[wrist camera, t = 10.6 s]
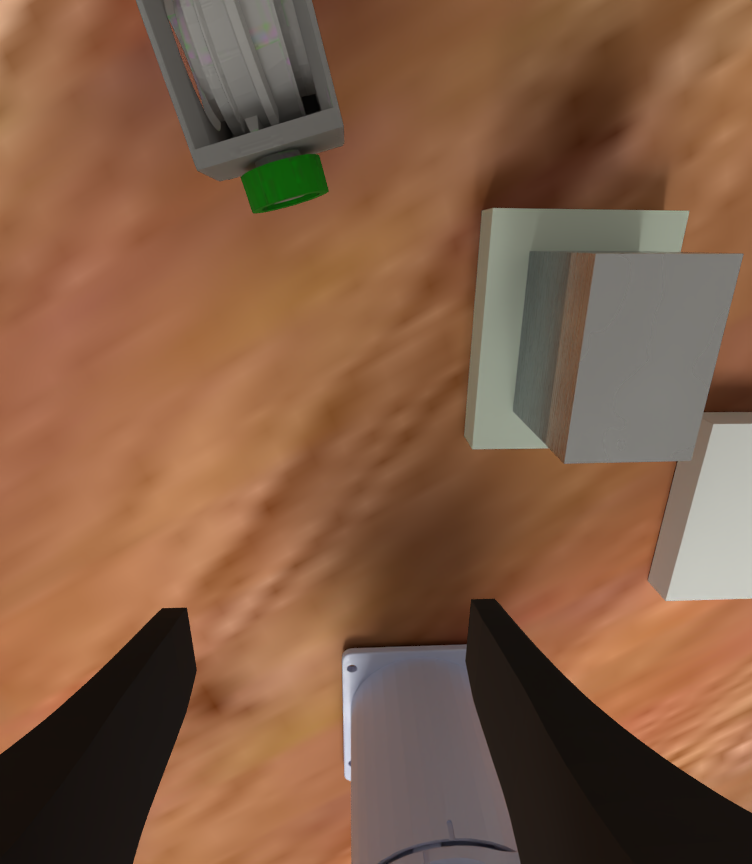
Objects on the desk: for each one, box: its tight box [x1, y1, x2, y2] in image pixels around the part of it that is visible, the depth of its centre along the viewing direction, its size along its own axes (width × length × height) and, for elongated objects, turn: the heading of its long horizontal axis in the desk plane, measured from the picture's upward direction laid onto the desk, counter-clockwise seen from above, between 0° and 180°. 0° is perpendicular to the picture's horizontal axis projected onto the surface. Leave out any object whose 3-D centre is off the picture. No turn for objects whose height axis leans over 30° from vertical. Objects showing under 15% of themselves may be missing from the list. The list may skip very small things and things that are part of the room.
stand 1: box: [464, 208, 689, 449], centre depth 19 cm, size 9×7×2 cm
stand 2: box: [648, 412, 752, 601], centre depth 23 cm, size 9×7×2 cm
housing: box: [513, 251, 743, 464], centre depth 16 cm, size 6×4×5 cm, turn 0°
